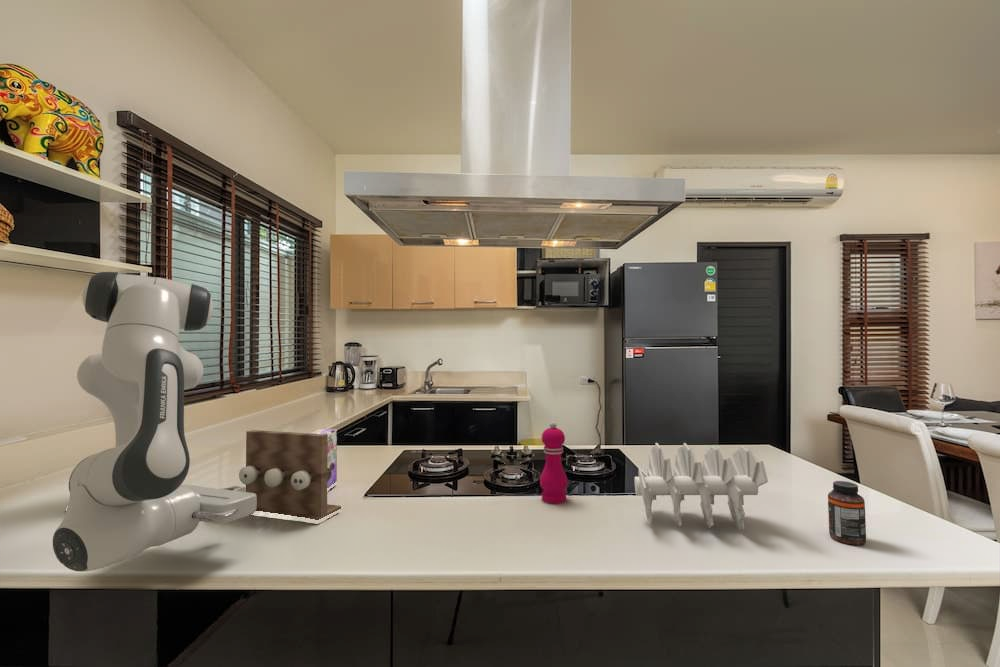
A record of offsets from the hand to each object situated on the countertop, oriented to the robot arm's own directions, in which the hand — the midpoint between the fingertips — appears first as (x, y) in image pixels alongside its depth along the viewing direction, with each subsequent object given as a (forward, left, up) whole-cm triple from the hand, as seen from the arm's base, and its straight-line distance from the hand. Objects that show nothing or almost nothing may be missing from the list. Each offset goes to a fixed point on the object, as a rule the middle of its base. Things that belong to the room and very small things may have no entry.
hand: (240, 490), depth 94 cm
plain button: (+4, +10, -2) cm, 11 cm away
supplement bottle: (+125, -4, -10) cm, 125 cm away
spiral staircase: (+98, +5, -10) cm, 98 cm away
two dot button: (+11, +8, -2) cm, 13 cm away
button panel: (+5, +14, -10) cm, 18 cm away
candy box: (+5, +29, -10) cm, 31 cm away
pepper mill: (+69, +22, -10) cm, 73 cm away
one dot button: (-4, +13, -2) cm, 13 cm away
